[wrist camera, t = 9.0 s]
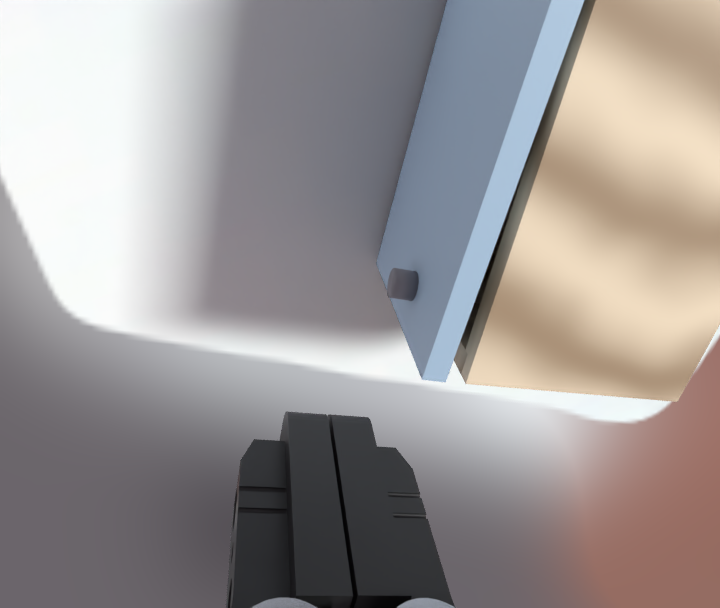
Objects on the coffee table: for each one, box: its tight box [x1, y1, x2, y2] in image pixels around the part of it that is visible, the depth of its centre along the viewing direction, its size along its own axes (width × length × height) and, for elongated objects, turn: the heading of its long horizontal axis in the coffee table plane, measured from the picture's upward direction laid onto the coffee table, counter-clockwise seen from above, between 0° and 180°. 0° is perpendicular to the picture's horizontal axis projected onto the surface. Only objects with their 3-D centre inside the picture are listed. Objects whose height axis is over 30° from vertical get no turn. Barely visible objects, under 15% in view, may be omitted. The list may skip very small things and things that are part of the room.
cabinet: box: [454, 0, 720, 402], centre depth 31 cm, size 20×12×14 cm, turn 169°
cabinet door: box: [376, 0, 584, 382], centre depth 29 cm, size 21×2×13 cm, turn 167°
